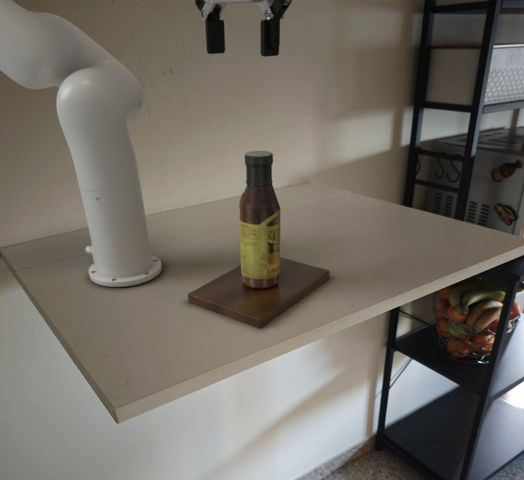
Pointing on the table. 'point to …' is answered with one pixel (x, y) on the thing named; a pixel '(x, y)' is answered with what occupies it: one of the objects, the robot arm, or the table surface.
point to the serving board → (258, 293)
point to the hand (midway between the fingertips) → (242, 54)
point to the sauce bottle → (259, 223)
